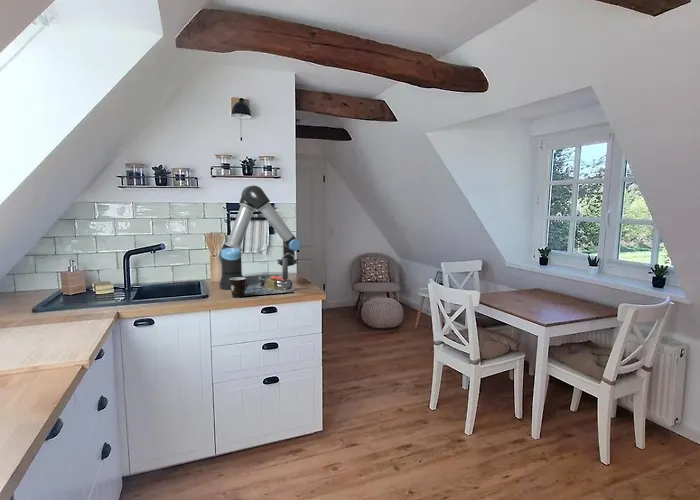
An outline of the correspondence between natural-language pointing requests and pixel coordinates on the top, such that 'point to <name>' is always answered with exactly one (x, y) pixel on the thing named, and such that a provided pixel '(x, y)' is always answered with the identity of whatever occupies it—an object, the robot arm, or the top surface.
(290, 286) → the valve
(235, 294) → the coffee mug
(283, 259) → the lever
